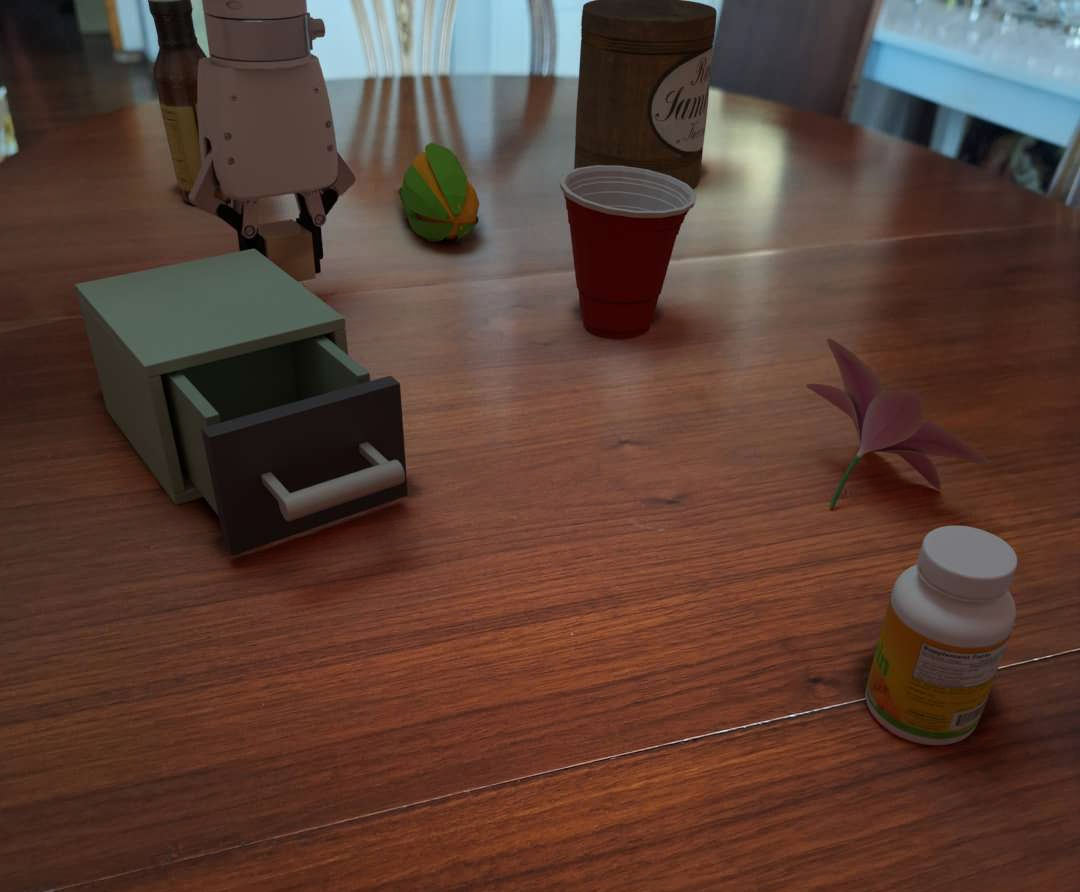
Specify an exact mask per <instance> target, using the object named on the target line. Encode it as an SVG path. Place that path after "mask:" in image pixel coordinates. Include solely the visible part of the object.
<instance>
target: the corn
mask: <svg viewBox="0 0 1080 892" xmlns="http://www.w3.org/2000/svg"><path fill="white" fill-rule="evenodd" d="M398 196H399V198H400V202H401V204H402V207H403V209H404V213H405V214H406V218H407V220H408V223H409V225H410V227H411V229H412V231H413V232H414V233H415V234H416V235H417V236H420V238H423V239H425V240H427V241H428V242H430V243H433V242H435V243H436V242H442V241H443V240H444V239H448V240H449V239H450V240H452V239H453V240H455V241H456V242H457V241H459V240H460V239H462V238H464V237H465V236H467V235H469V234H470V233H471V232H472V231H473V229H474V228H475V227H476V226H477V225H478V223H479V216H478V213H479V208H480V201H479V197H478V195H477V191H476V189H475V188H474V186H472V184H471V183H470V182H469V180H468V176H467V174H466V172H465V170H464V169H463V167H462V165H461V162H460V160H459V159H458V156H457V155H456V154H455V153H454V152H452V150H451V149H450V148H447V147H445V146H444V145H443V146H442V145H440V144H438V143H435V142H430V143H428V144H426V145H425V147H424V151H421V153H419V154H418V155H417V156H415V157H414V159H413V161H412V164H411V165H410V166H408V167H407V169H406V170H405V171H404V175H403V179H402V186H401V187H399V189H398ZM416 214H417V215H418V216H417V215H416Z"/></svg>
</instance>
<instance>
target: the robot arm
mask: <svg viewBox="0 0 1080 892" xmlns="http://www.w3.org/2000/svg"><path fill="white" fill-rule="evenodd" d="M201 3H202V11H203V17H204V26H205V33H206V40H207V47H208V48H207V49H208V55H209V56H207V58H201V59H200V60H199V65H198V81H197V103H198V128H199V143H200V154H201V163H202V167H201V170H200V172H199V174H198V176H197V178H196V181H195V183H194V185H193V187H192V190H191V192H190V194H189V201H190V202H191V203H192V204H191V203H190V204H191V205H193V206H195V207H196V208H197V209H200V210H202V211H204V212H206V213H208V214H210V215H212V216H214V217H216V218H220V219H221V220H222V221H223V222H225V223H226V224H227V225H229V226H230V227H231V228H233V229H234V230H235V231H236V235H237V242H238V249H239V251H244V250H249V249H256V250H257V251H258V252H260V253H261V254H262V255H264V256H265V257H266V253H265V244H264V239H263V237H262V236H261V235H259V234H258V228H257V225H258V221H259V220H258V219H259V204H260V199H266V198H272V197H273V198H274V197H278V196H286V195H292V194H294V198H295V202H296V206H297V208H298V212H299V213H298V217H296V218H295V220H294V221H295V222H297V223H298V224H300V225H301V226H303V227H304V228H305V229H307V230H308V231H310V232H311V233H312V242H313V253H314V264H315V275H318V274H321V273H322V266H321V260H324V246H323V244H324V243H323V234H322V233H323V232H322V227H323V226H324V225H325V224H326V222H327V216H328V214H329V213H330V211H331V210H332V209H333V207H334V206H335V204H337V202H338V200H339V197H340V196H343V195H344V194H345V193H346V192H347V191H348V190H349V189H350V188H352V187H353V185H355V183H356V180H357V178H356V175H355V174H354V172H353V171H352V169H350V167H349V166H348V164H347V163H346V161H345V159H343V157H342V156H341V155H340V153H339V152H338V148H337V147H338V146H337V139H336V131H335V124H334V119H333V112H332V107H331V102H330V97H329V93H328V88H327V84H326V81H325V77H324V72H323V68H322V66H321V62H320V59H319V57H318V56H317V55H315V54H313V53H311V51H313V50H314V48H313V47H314V45H313V41H315V40H317V38H319V39H320V38H324V37H325V35H326V25H325V22H324V19H322V18H313V16H311V13H310V12H308V3H307V0H201ZM216 188H221V190H222V192H223V194H224V195H225V196H226V197H227V198H230V199H231V200H230V205H229V204H227V202H223V201H221V200H219V199H217V198H215V197H214V192H215V190H216Z"/></svg>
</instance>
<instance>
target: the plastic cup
mask: <svg viewBox="0 0 1080 892" xmlns="http://www.w3.org/2000/svg"><path fill="white" fill-rule="evenodd" d="M559 187H560V190H561V192H562V194H563V195H564V200H565V209H566V210H567V222H568V224H569V232H570V240H571V248H572V249H571V250H572V258H573V268H574V275H575V285H576V288H577V293H578V299H579V300H578V301H579V308H580V317H581V319H582V324H583V326H584V328H585V329H586V330H587V332H590V333H591V334H593V335H595V336H599V337H602V338H606V339H617V340H624V339H625V340H626V339H634V338H636V337H637V338H638V337H641V336H643V335H645V334H647V333H648V332H649V331H650V328H651V325H652V324H653V321H654V317H655V313H656V309H657V305H658V301H659V296H660V295H661V294H662V291H663V287H664V283H665V280H666V276H667V272H668V268H669V265H670V261H671V258H672V254H673V250H674V246H675V244H676V240H677V236H678V235H679V233H680V230H681V227H682V224H684V221H685V218H686V216H687V215H688V213H689V212H690V210H691V209H692V208H694V207H695V204H696V202H697V195H698V194H697V192H695V190H694V189H693V188H691V187H690V186H689V185H688V184H686V183H684V182H682V181H680V180H678V179H675V178H673V177H671V176H669V175H665V174H661V173H658V172H654V171H651V170H647V169H640V168H633V167H626V166H603V165H596V166H589V167H582V168H576V169H574V168H573V169H572V170H569V171H567V172H565V173H563V174H562V177H561V178H560V181H559Z"/></svg>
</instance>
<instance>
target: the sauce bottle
mask: <svg viewBox="0 0 1080 892" xmlns="http://www.w3.org/2000/svg"><path fill="white" fill-rule="evenodd" d="M147 2H148V9H149V13H150V14H151V16H152V18H153V22H154V26H155V31H156V36H157V45H158V52H157V55H156V58H155V61H154V65H153V66H152V67H153V68H152V73H153V74H152V75H153V77H154V81H155V82H154V83H155V85H156V90H157V94H158V103H159V107H160V113H161V117H162V121H163V124H164V129H165V134H166V139H167V142H168V148H169V152H170V157H171V161H172V165H173V169H174V174H175V178H176V182H177V186H178V189H179V192H180V196H181V198H182V199H183V200H184V201H185V202H187V203H188V204H191V205H193V204H192V203H191V202H190V201H189V194H190V192H191V190H192V187H193V185H194V183H195V181H196V178H197V176H198V174H199V172H200V170H201V167H202V163H201V154H200V143H199V128H198V103H197V81H198V65H199V60H200V59H201V58H207V57H208V55H206V53H205V52H204V50H203V48H202V47H201V45H200V44H199V43H198V37H197V36H196V31H195V26H194V24H195V23H194V19H193V10H194V8H193V4H192V0H147ZM214 197H215V198H217V199H219V200H221V201H223V202H225V203H227V202H231V199H230V198H227V197H226V196H225V195H224V194H223V192H222V190H221V188H216V190H215V192H214Z"/></svg>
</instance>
